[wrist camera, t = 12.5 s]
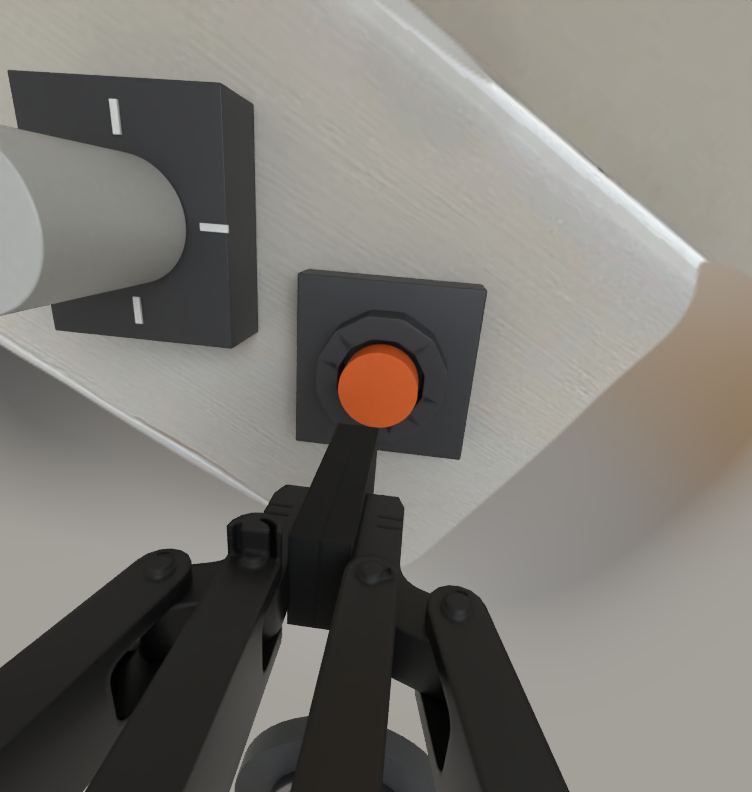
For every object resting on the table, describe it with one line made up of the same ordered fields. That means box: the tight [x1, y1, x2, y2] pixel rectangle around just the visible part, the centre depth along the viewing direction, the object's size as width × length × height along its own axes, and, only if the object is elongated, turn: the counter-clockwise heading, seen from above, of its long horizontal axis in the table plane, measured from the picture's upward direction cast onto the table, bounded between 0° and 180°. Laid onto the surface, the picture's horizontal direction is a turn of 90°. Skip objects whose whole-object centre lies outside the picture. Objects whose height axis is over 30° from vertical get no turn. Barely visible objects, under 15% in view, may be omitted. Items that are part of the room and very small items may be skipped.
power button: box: [338, 344, 418, 428], centre depth 24 cm, size 4×4×2 cm
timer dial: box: [0, 125, 186, 316], centre depth 18 cm, size 6×6×9 cm
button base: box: [296, 269, 487, 460], centre depth 26 cm, size 10×10×4 cm
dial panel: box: [8, 70, 258, 348], centre depth 24 cm, size 12×10×4 cm
